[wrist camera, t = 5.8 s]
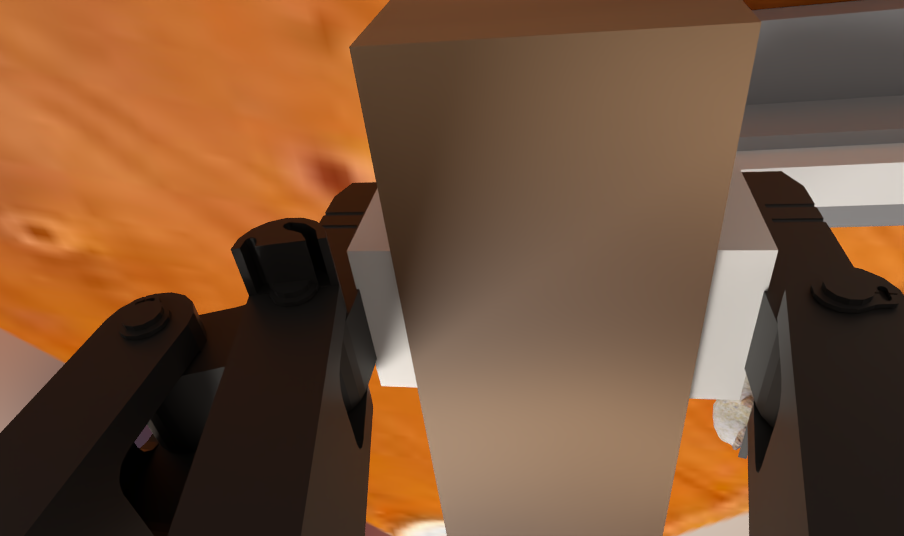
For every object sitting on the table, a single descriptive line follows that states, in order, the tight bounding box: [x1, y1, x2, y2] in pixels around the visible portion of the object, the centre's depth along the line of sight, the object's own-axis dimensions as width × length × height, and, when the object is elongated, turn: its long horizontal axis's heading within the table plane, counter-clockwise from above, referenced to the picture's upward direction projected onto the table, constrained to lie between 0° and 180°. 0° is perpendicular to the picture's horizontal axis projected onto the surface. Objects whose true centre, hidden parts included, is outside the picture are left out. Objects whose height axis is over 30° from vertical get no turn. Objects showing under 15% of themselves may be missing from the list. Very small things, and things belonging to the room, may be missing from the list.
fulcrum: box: [735, 0, 904, 227], centre depth 25 cm, size 10×12×6 cm
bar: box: [349, 0, 761, 536], centre depth 14 cm, size 20×4×4 cm, turn 6°
